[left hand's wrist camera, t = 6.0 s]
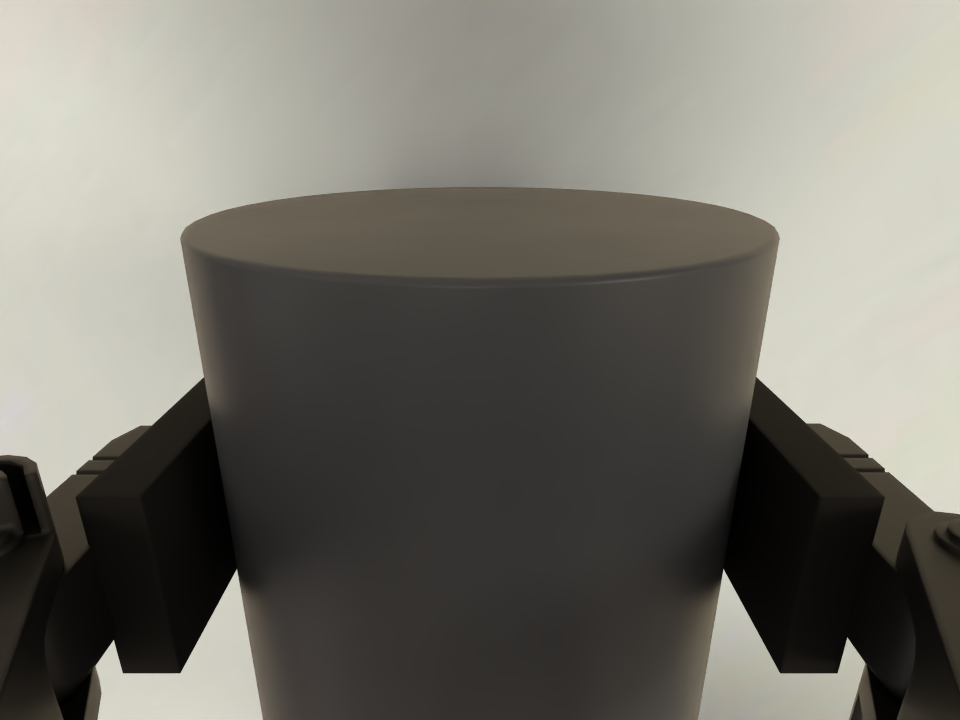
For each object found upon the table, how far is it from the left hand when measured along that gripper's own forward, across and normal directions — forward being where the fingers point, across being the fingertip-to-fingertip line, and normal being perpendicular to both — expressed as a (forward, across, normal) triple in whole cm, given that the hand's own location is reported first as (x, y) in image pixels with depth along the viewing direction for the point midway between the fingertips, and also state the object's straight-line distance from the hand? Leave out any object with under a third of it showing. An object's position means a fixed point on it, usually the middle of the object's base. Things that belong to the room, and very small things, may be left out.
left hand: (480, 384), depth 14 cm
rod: (0, 0, -7) cm, 7 cm away
